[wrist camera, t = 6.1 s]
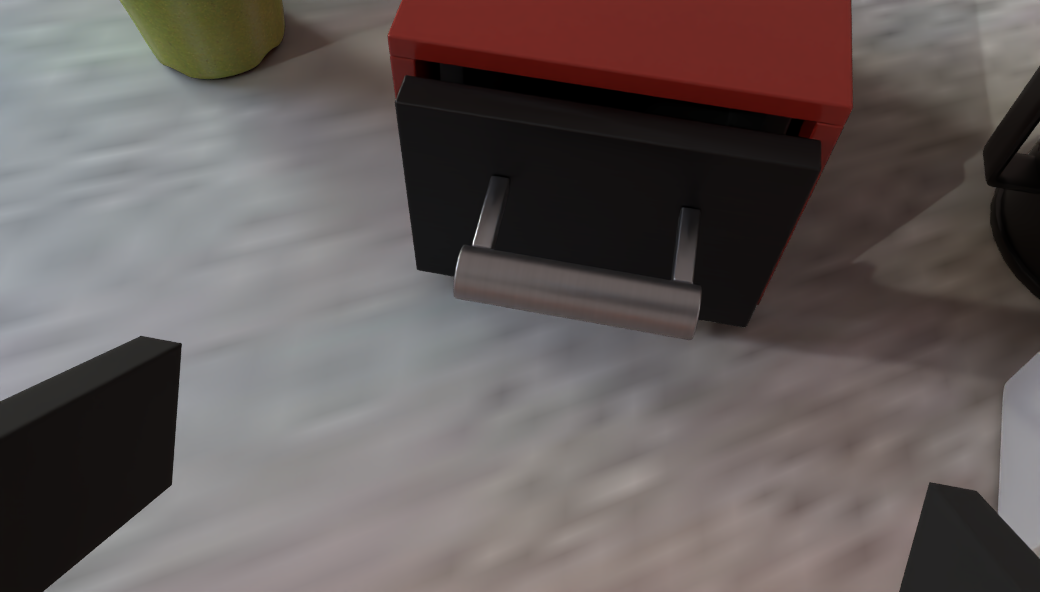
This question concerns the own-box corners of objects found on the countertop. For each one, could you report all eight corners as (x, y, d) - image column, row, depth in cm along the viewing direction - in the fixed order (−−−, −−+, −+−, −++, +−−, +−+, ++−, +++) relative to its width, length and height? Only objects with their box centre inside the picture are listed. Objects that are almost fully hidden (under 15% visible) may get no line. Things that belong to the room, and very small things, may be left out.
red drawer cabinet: (758, 306, 34) (854, 107, 25) (413, 246, 35) (386, 35, 26) (773, 34, 42) (849, -188, 33) (494, -7, 43) (495, -233, 34)
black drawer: (739, 438, 30) (821, 300, 22) (384, 372, 31) (349, 219, 23) (763, 58, 40) (825, -125, 32) (495, 17, 41) (495, -169, 33)
